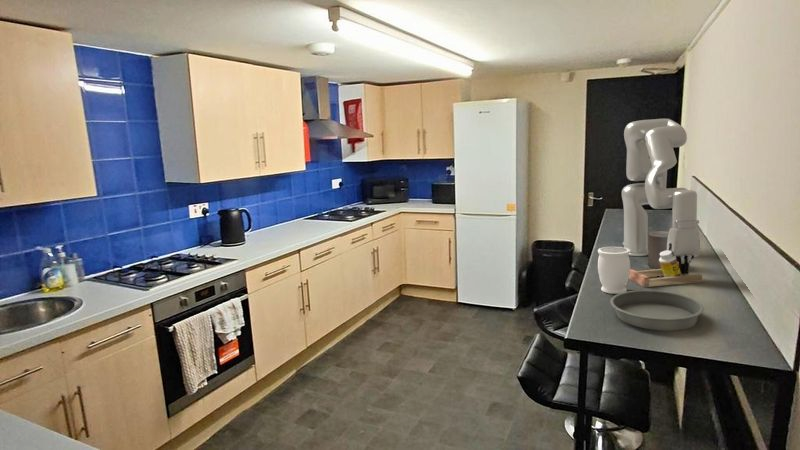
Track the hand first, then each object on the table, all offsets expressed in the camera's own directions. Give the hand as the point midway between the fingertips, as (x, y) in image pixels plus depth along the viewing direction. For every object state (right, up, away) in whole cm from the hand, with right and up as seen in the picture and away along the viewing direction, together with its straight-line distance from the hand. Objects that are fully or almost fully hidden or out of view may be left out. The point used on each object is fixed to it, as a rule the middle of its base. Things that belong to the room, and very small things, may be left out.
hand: (683, 273), depth 170 cm
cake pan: (-27, -10, -30) cm, 42 cm away
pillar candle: (+2, +1, +17) cm, 17 cm away
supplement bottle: (-3, -2, 0) cm, 4 cm away
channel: (-7, -3, +1) cm, 7 cm away
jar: (-28, -6, -6) cm, 29 cm away
